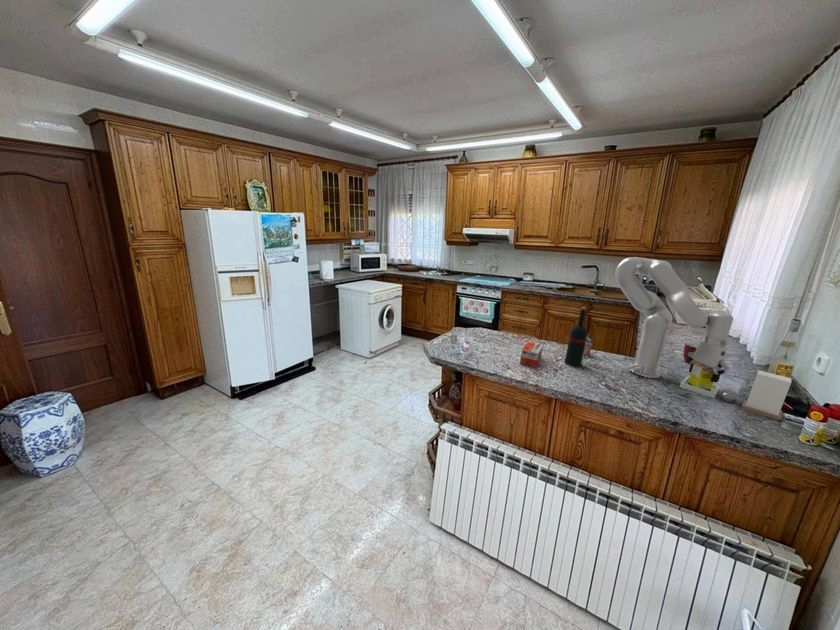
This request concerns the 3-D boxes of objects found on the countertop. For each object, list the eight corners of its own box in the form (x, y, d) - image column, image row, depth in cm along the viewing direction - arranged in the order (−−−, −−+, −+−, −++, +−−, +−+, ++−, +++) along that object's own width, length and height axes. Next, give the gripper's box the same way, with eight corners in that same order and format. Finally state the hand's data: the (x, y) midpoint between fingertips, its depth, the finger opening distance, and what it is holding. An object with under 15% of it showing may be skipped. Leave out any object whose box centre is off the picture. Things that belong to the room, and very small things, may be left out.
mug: (706, 368, 171) (712, 350, 168) (690, 366, 172) (695, 349, 169) (691, 360, 181) (696, 343, 179) (677, 359, 182) (681, 342, 179)
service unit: (780, 421, 122) (795, 384, 118) (740, 408, 130) (753, 373, 126) (781, 414, 128) (795, 378, 124) (743, 402, 136) (755, 368, 131)
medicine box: (536, 368, 159) (538, 353, 156) (519, 364, 162) (521, 349, 160) (541, 358, 171) (543, 344, 169) (525, 354, 175) (527, 341, 173)
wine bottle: (579, 360, 171) (590, 305, 163) (582, 367, 162) (594, 310, 154) (563, 358, 173) (573, 303, 165) (565, 365, 164) (576, 308, 156)
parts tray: (714, 398, 138) (715, 393, 137) (679, 387, 146) (680, 383, 146) (718, 390, 145) (719, 386, 145) (685, 380, 154) (686, 376, 154)
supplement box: (710, 391, 143) (718, 368, 140) (696, 389, 144) (703, 367, 141) (701, 385, 149) (708, 363, 146) (687, 383, 149) (693, 361, 146)
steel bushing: (729, 404, 133) (732, 395, 132) (716, 398, 138) (719, 389, 137) (738, 403, 134) (741, 395, 133) (725, 397, 139) (728, 389, 138)
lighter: (577, 351, 184) (580, 335, 182) (582, 351, 185) (586, 335, 182) (585, 357, 177) (589, 339, 174) (591, 357, 177) (594, 340, 174)
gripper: (743, 348, 132) (730, 385, 137) (701, 334, 149) (690, 368, 153) (728, 348, 131) (716, 386, 136) (687, 334, 147) (677, 368, 152)
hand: (702, 376), depth 144 cm, fingers open, 9 cm apart
